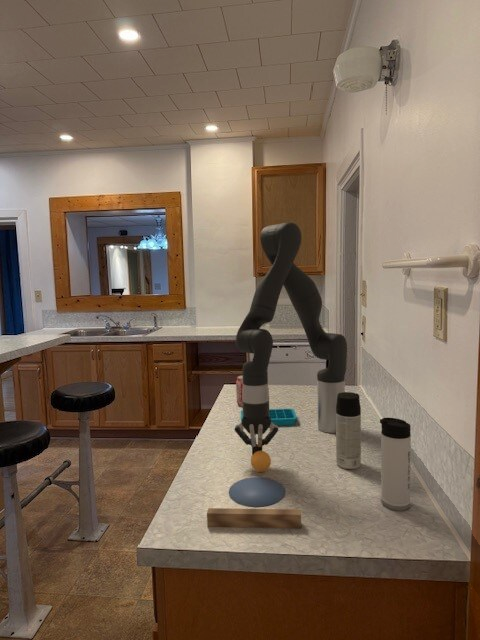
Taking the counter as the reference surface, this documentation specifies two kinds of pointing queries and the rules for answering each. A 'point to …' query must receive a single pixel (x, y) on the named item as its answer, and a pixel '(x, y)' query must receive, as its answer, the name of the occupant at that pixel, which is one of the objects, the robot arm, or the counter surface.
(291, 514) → the wall
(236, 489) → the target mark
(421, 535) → the counter surface
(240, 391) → the soda can
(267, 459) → the ball
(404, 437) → the travel mug
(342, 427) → the spray can
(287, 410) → the ice cube tray
